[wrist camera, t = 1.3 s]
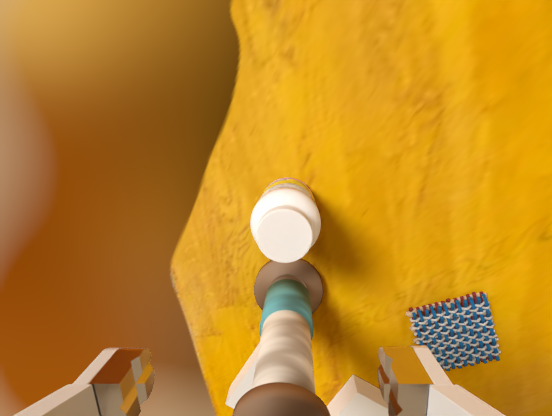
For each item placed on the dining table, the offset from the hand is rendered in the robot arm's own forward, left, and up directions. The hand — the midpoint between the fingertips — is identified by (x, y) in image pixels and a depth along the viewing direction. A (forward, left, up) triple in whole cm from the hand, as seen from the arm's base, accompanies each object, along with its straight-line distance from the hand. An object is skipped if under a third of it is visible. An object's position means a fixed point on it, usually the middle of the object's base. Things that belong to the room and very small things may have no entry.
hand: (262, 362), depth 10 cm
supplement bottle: (0, 0, -26) cm, 26 cm away
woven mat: (-28, +4, -27) cm, 39 cm away
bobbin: (-6, +10, -26) cm, 29 cm away
